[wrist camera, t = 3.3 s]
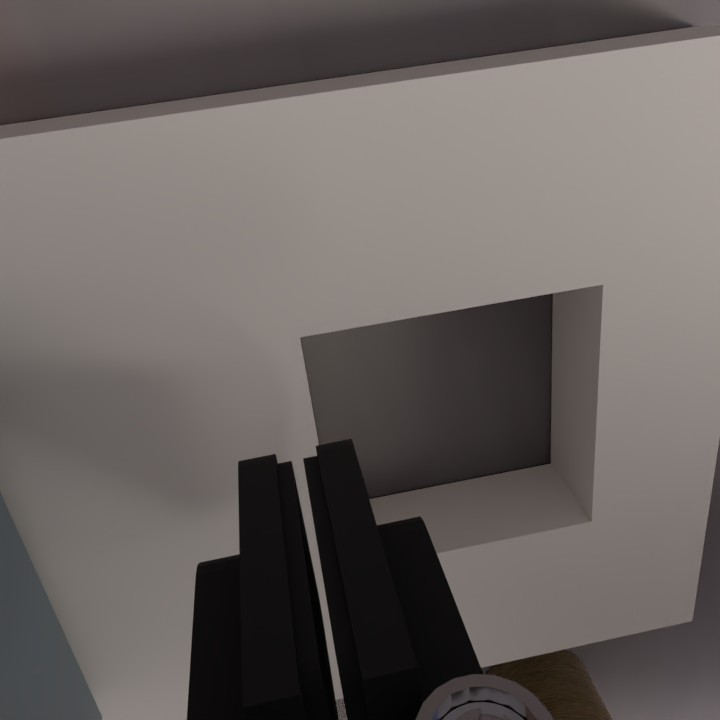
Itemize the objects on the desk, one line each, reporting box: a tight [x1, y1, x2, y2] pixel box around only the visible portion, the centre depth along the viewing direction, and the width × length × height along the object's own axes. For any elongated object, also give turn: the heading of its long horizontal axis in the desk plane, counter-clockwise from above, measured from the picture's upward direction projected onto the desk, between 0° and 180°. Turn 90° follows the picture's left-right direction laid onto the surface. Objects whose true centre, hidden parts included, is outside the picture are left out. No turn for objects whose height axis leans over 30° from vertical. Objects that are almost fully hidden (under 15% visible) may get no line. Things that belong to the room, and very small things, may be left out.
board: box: [0, 26, 720, 720], centre depth 12 cm, size 24×12×2 cm, turn 97°
